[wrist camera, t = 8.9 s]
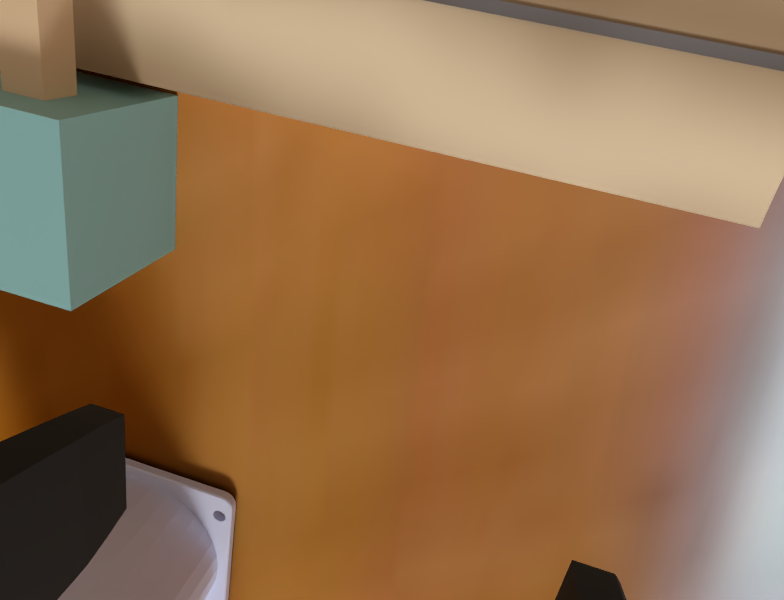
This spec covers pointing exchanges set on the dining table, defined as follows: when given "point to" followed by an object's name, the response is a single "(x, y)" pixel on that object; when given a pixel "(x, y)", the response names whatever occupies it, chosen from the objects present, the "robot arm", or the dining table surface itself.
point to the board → (492, 82)
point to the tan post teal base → (77, 165)
